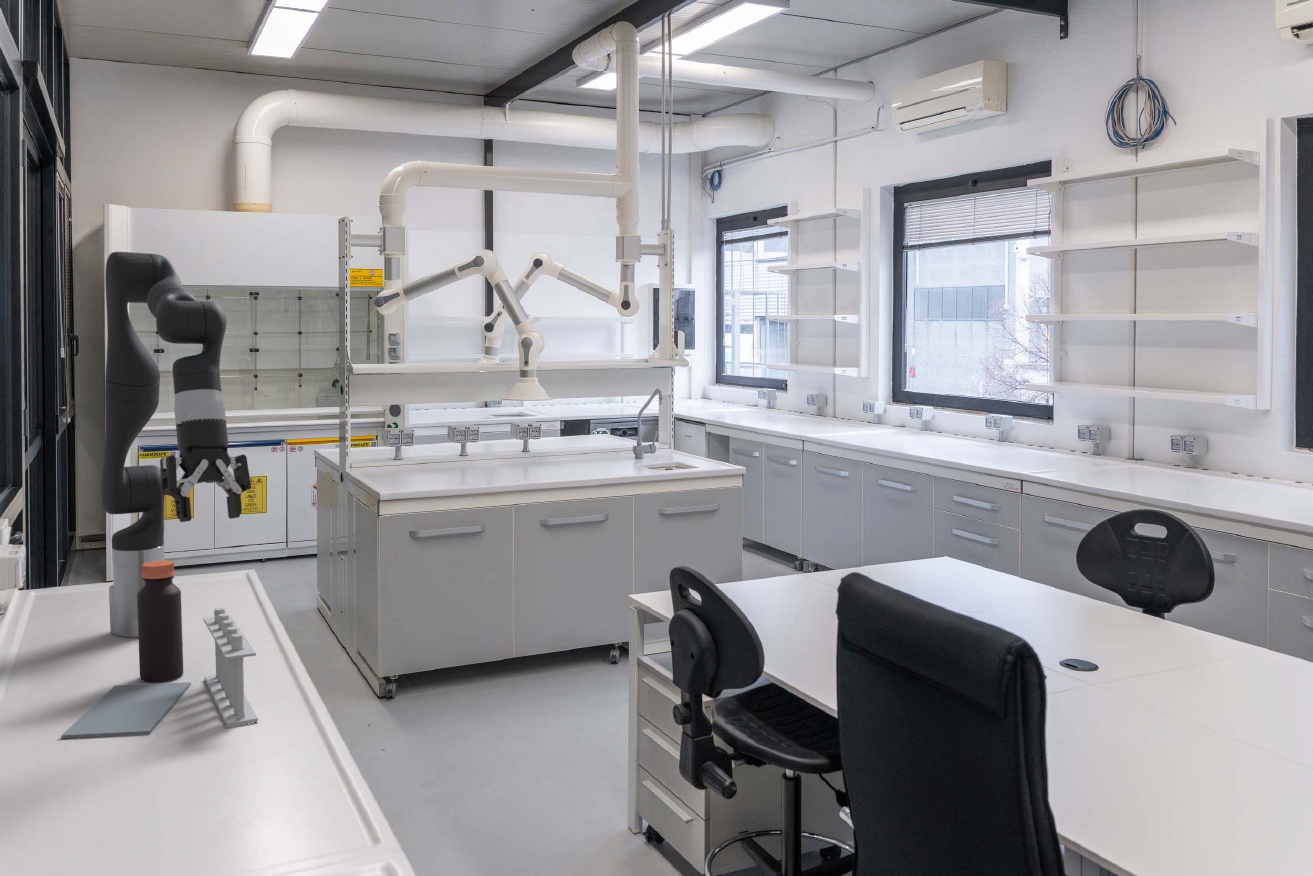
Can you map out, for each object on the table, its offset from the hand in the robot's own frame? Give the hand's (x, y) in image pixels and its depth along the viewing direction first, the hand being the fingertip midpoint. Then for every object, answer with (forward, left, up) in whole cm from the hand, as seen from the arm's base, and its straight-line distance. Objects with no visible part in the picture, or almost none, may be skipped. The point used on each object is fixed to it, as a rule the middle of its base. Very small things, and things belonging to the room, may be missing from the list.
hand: (210, 519), depth 164 cm
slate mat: (-9, -8, -29) cm, 32 cm away
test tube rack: (+3, -1, -30) cm, 30 cm away
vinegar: (-15, +7, -30) cm, 34 cm away
